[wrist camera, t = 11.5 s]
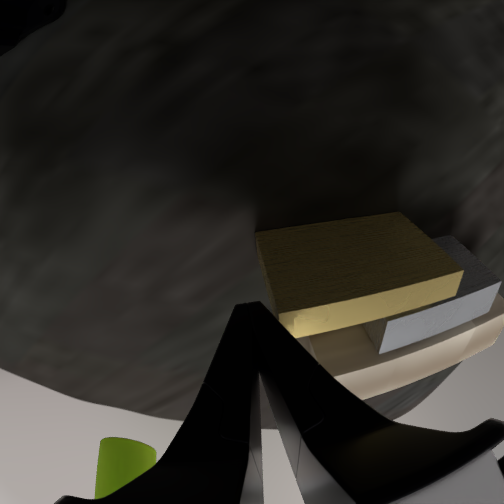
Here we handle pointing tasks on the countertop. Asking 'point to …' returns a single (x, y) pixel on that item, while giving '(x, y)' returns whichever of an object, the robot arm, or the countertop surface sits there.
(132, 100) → the countertop surface
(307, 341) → the block
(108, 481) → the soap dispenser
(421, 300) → the block
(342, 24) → the countertop surface
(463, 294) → the grey block with shaft
